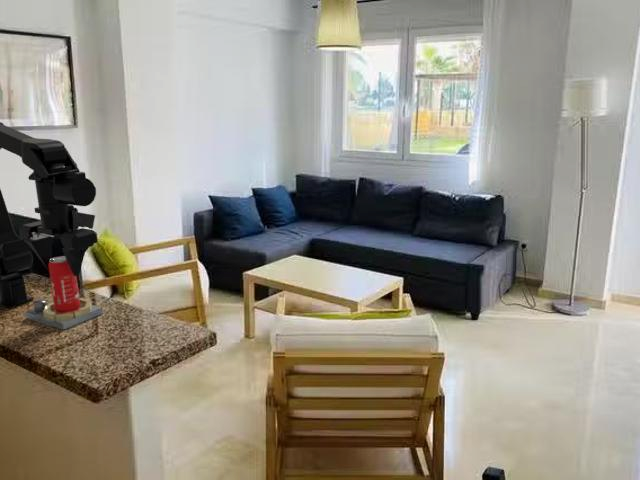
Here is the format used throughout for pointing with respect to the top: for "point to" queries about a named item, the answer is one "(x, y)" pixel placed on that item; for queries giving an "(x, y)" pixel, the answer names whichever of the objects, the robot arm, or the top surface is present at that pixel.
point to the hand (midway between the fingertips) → (63, 272)
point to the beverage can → (63, 285)
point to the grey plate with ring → (62, 314)
